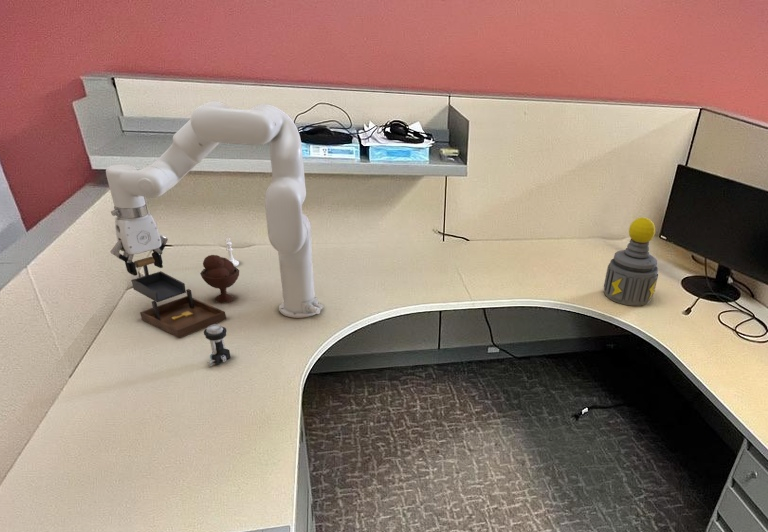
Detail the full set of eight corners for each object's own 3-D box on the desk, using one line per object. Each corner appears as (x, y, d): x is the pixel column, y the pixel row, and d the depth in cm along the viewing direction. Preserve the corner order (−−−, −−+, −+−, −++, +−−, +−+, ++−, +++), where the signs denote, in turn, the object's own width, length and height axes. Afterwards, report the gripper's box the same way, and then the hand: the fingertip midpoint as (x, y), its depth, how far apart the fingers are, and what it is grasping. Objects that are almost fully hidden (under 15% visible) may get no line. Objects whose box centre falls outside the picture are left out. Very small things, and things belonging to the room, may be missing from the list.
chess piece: (241, 264, 204) (237, 238, 199) (228, 267, 201) (223, 240, 196) (235, 260, 207) (231, 234, 202) (221, 263, 204) (217, 236, 199)
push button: (217, 370, 146) (210, 336, 141) (201, 365, 147) (194, 331, 142) (236, 358, 151) (230, 325, 146) (220, 353, 153) (213, 321, 148)
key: (192, 313, 169) (192, 314, 169) (187, 311, 169) (188, 312, 170) (175, 319, 164) (175, 320, 164) (170, 317, 165) (170, 318, 165)
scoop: (186, 292, 169) (181, 266, 164) (157, 302, 162) (152, 275, 157) (161, 279, 173) (156, 253, 168) (131, 288, 166) (126, 262, 161)
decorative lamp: (592, 293, 211) (607, 215, 195) (619, 282, 223) (635, 207, 208) (635, 311, 200) (655, 230, 185) (661, 298, 213) (681, 221, 197)
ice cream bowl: (230, 308, 175) (223, 263, 167) (198, 302, 176) (189, 257, 169) (250, 295, 184) (243, 252, 176) (219, 289, 185) (211, 246, 178)
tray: (226, 319, 169) (222, 299, 166) (179, 338, 158) (174, 317, 154) (189, 302, 176) (185, 283, 173) (141, 320, 164) (136, 299, 161)
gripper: (107, 221, 149) (124, 282, 158) (169, 208, 163) (181, 265, 172) (91, 214, 152) (108, 275, 161) (153, 202, 165) (166, 259, 175)
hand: (146, 270), depth 166 cm, fingers open, 7 cm apart
